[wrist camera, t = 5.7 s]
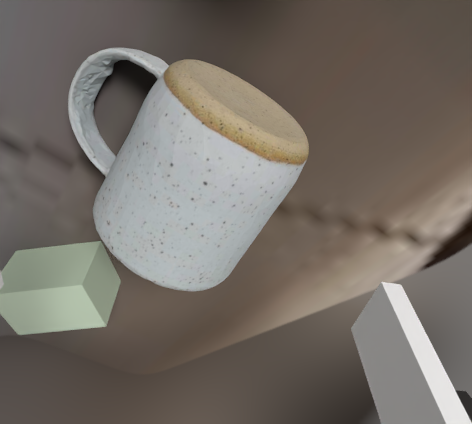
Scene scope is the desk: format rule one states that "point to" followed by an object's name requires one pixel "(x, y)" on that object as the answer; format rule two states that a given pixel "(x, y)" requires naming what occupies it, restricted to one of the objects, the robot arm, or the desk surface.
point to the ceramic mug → (187, 168)
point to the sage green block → (58, 288)
